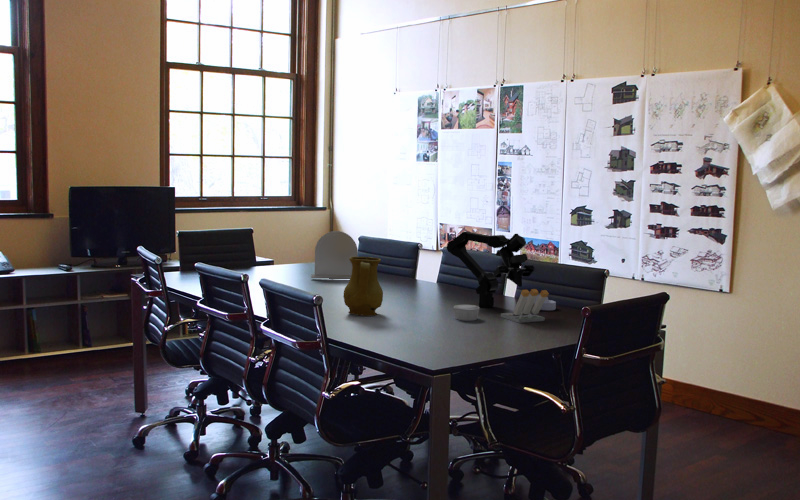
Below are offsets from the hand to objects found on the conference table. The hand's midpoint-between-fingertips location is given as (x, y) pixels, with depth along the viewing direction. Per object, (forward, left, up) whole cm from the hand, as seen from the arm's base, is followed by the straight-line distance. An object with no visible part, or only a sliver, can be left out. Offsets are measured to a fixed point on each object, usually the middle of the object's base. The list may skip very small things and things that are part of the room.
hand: (520, 286), depth 333 cm
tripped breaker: (+5, -9, -10) cm, 15 cm away
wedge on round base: (+11, +18, -13) cm, 25 cm away
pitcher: (-69, -12, -13) cm, 71 cm away
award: (-98, +89, -13) cm, 132 cm away
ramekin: (-24, -13, -13) cm, 30 cm away
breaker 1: (-2, -13, -10) cm, 17 cm away
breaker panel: (0, -9, -13) cm, 16 cm away
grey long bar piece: (+1, -11, -10) cm, 15 cm away
